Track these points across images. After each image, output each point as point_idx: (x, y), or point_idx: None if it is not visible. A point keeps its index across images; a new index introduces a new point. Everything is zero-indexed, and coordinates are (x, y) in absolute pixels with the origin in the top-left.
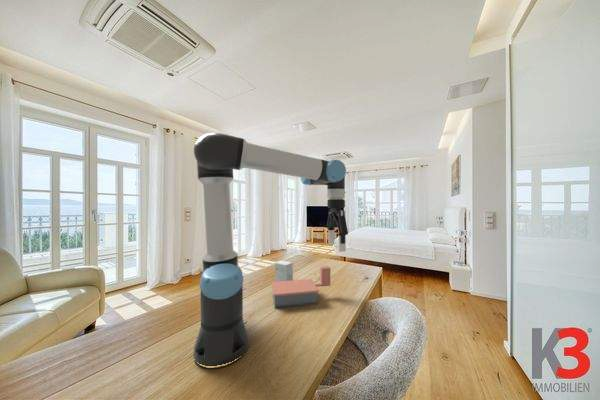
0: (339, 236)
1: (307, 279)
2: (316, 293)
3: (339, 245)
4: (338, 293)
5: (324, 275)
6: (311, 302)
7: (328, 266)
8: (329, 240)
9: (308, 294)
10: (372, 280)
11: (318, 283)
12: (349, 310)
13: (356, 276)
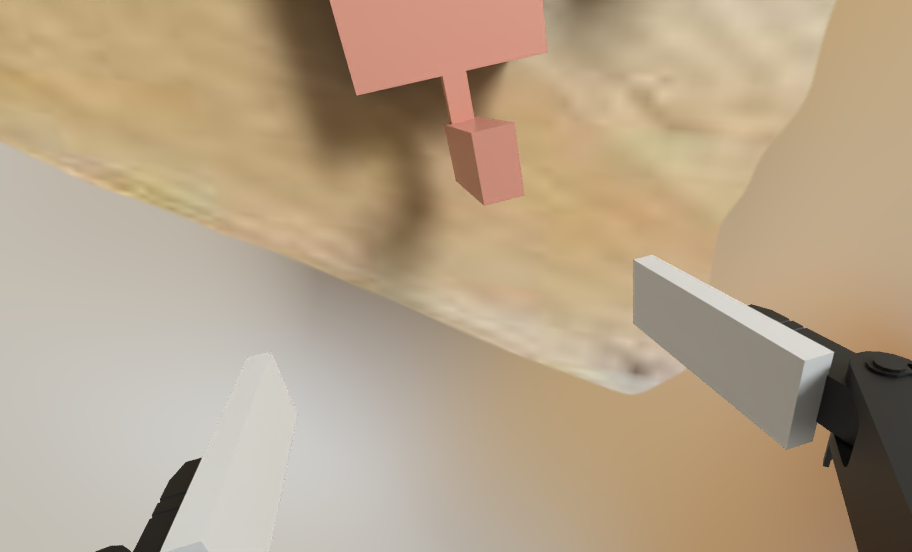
0: (174, 538)
1: (539, 21)
2: None
3: (227, 412)
4: (482, 217)
5: (462, 149)
6: None
7: (522, 194)
8: (667, 287)
9: None
10: (608, 388)
11: (465, 102)
12: (309, 245)
13: None
